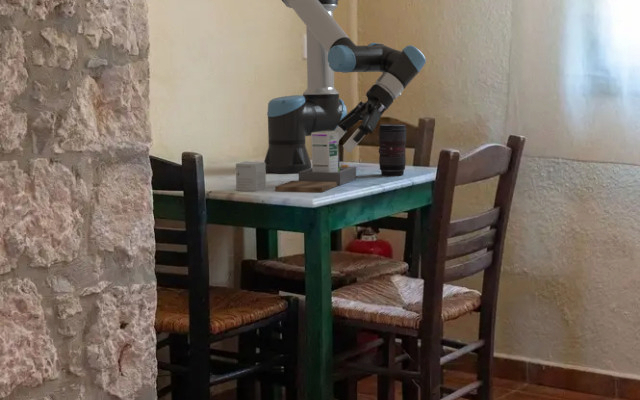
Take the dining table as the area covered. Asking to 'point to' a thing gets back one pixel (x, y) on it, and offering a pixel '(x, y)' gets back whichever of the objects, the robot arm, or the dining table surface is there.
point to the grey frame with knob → (330, 175)
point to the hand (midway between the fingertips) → (336, 148)
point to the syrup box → (325, 151)
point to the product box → (250, 176)
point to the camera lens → (392, 149)
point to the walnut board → (306, 186)
